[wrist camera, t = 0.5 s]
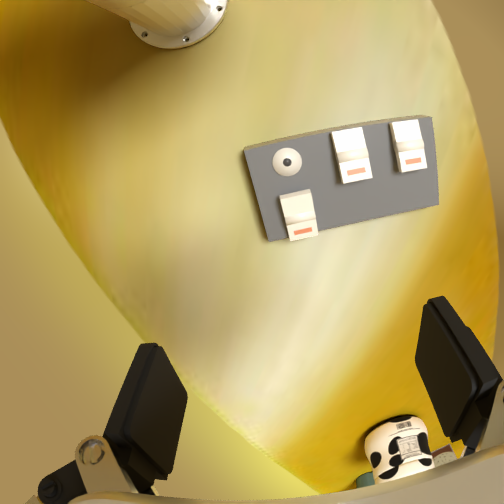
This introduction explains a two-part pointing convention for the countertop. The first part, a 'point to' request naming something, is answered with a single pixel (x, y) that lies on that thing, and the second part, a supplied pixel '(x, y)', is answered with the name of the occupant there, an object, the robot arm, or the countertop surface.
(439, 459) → the food container
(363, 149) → the rocker mid
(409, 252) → the countertop surface
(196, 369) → the countertop surface
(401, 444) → the milk container
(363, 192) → the switch panel
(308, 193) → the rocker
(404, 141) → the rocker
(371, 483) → the flower pot
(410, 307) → the countertop surface
